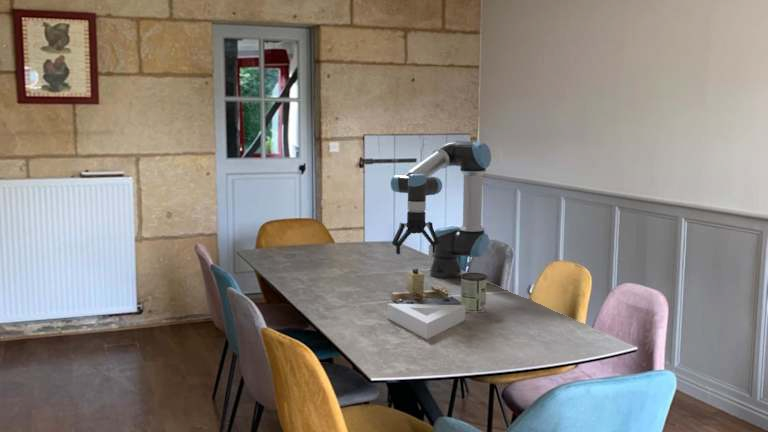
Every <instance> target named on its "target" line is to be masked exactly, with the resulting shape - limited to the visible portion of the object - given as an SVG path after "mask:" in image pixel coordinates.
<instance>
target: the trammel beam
mask: <svg viewBox="0 0 768 432" xmlns="http://www.w3.org/2000/svg"><path fill="white" fill-rule="evenodd" d="M424 294H425V295H426V298H440V297H446V300H448V296H449V293H448V290H447V289H444V288H443V287H441V286H439V285H431V287H430V289H428V290H427V289H426V290H425V289H424ZM390 296H391V297H390V298H391V301H392V302H396V300H399V299H402V300H411V299H423V297H421V296H420V295H419V294H417V293H414V294H412V293H411V292H409V291H396V292H395V291H394V292H391V295H390Z"/></svg>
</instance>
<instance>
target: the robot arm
mask: <svg viewBox="0 0 768 432" xmlns="http://www.w3.org/2000/svg"><path fill="white" fill-rule="evenodd" d="M489 147H490V146H488V145H487V143H485V142H484V141H483V142H482V141H468V140H467V141H466V140H465V141H462V140H461V141H460V140H454V141H450V142H447V143H445V144H443V145H441V146H439V147H437V148H436V149H434V150H433V151H432V153H431V155H429V156H428V157H427V158H425V159H424V160H423V161H421V162H420V163H418V164H416V165H415V166H414V167H412V168H411V169H410V170H408V171H407V172H405V173H404V174H395V175H393V176H392V177H391V180H390V189H391V191H393V192H394V193H400V194H407V213H406V217H407V218H406V223H405V222H400V223H399V226H398V229H397V231H396V233H395V235H394V237H393V240H392V242H391V244H392V245H393V246H395V249H396V250H395V253H396V255H397V262H399V263H402V262H403V247H402V245H403V244H404V243H405V241H406V240H407V238H409V236H410V235H412V234H422V236H424V238H425V239H426V240H427V241H428V243H429V244H428V260H427V261H430V262H432V264H431V265H430V269H429V275H430V276H432V277H433V278H434V277H435V278H441V279H453V278H454V279H455V278H459V277H461V275H462V268H461V265H460V261H459V257H460V256H462V257H467V258H468V257H469V258H471V259H473V258H477V259H478V258H483V256H484V255H485V254H487V251H488V249H489V246H490V238H489V235H488V234H487V233H485V227H483V226H482V210H483V209H482V205H483V204H482V201H483V199H482V198H483V174H484V173H486V170H487V169H486V168H488V167H490V165H491V162H492V153H491V150H490V148H489ZM451 166H452V167H453V166H456V167H460V172H461V173H462V174H463V192H462V193H463V194H462V195H463V196H462V197H463V198H462V200H463V202H462V226H460V227H458V226H447V227H440V228H436V229H434V228H433V222H431V221H428V222H426V212H425V211H426V207H427V206H426V205H427V204H426V199H427V196H435V195H438V194H439V193H440V192H442V189H443V182H442V180H441V179H440V178H439V177H436V176H433V175H434V174H436V173H437V172H439V171H440V170H441V169H446V168H447V167H451ZM426 227H427V228H428V231H429V233H430V235H431V237H432V238H431V237H430V235H429V234H428V233H427V231H426V230H425V228H426ZM404 229H406V230H405V232H404V233H403V231H404ZM402 234H403V235H402Z"/></svg>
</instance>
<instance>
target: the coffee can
mask: <svg viewBox="0 0 768 432" xmlns="http://www.w3.org/2000/svg"><path fill="white" fill-rule="evenodd" d="M487 275H488V274H484V273H481V272H465V273H461V276H460V277H461V279H460V280H461V284H460V302H461V305H466V310H465V313H474V314H477V313H478V314H479V313H483V312H485V311H486V310H487V309H486V308H487V278H488V276H487Z"/></svg>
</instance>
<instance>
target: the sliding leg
mask: <svg viewBox="0 0 768 432" xmlns="http://www.w3.org/2000/svg"><path fill="white" fill-rule="evenodd" d="M424 277H425V274H424V273H423V272H421V271H420V270H419V268H416V267H414V268H412V270H409V271H406V291H407V292H411V293H412V294H414V293H417V294H419V295H420V296H421V297H423V301H425V298H426V295H425V294H424V290H425V289H424V288H425V287H424V285H425V278H424Z"/></svg>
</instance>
